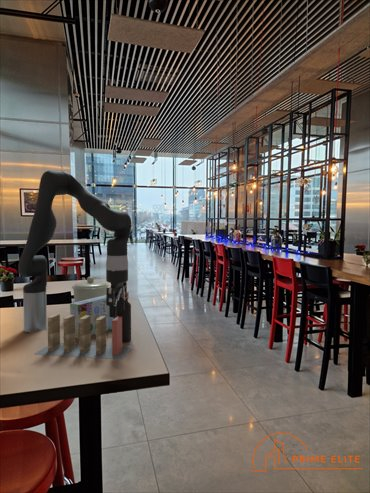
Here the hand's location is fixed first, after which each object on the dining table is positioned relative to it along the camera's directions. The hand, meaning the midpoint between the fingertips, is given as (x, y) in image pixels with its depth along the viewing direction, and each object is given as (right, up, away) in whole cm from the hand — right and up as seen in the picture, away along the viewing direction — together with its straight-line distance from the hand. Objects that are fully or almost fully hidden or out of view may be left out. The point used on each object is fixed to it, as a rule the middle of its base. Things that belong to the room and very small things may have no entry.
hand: (117, 313), depth 111 cm
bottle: (-1, -14, +13) cm, 19 cm away
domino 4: (-6, -14, +1) cm, 15 cm away
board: (-12, -15, +2) cm, 19 cm away
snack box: (-15, -14, +25) cm, 32 cm away
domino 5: (0, -14, +1) cm, 14 cm away
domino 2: (-18, -14, +3) cm, 23 cm away
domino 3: (-12, -14, +2) cm, 18 cm away
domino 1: (-24, -14, +4) cm, 28 cm away
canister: (-24, -13, +50) cm, 57 cm away
